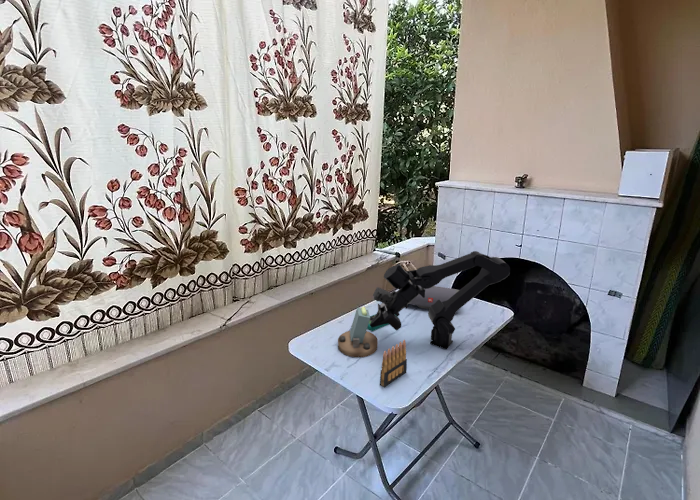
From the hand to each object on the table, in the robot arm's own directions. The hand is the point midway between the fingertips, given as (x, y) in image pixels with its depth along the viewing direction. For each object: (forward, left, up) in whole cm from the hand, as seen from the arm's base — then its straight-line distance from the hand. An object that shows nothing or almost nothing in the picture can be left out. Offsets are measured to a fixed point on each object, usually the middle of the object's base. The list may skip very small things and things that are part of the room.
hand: (370, 326), depth 132 cm
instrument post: (+4, +3, -5) cm, 8 cm away
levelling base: (+4, +3, -8) cm, 9 cm away
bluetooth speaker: (-5, -41, -8) cm, 42 cm away
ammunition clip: (-16, +11, -8) cm, 21 cm away
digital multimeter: (+6, -16, -8) cm, 19 cm away
